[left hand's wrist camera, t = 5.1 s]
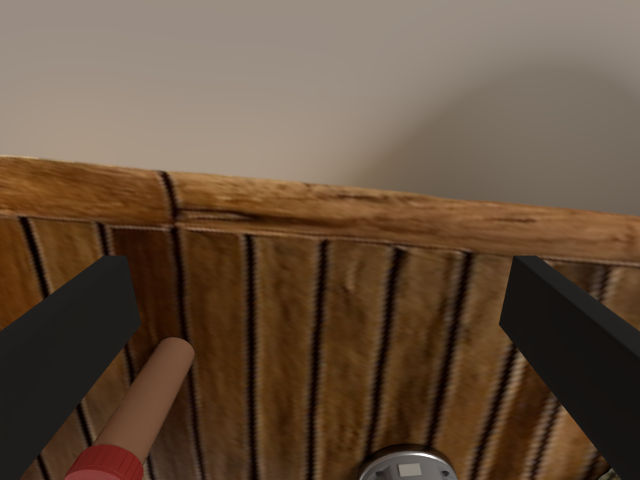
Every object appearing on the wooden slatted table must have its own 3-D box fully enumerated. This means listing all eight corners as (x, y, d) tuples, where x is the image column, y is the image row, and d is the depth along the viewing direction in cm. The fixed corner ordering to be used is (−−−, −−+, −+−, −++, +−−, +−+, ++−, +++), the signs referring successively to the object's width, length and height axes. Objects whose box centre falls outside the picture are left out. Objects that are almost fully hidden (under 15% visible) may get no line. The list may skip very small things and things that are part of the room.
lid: (64, 463, 33) (45, 489, 31) (107, 433, 32) (91, 458, 29) (114, 497, 35) (101, 524, 32) (157, 471, 33) (146, 497, 31)
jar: (148, 350, 48) (56, 484, 31) (175, 330, 47) (95, 459, 30) (176, 374, 49) (103, 515, 33) (202, 355, 48) (141, 491, 31)
